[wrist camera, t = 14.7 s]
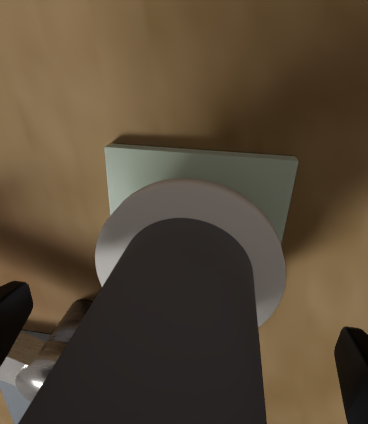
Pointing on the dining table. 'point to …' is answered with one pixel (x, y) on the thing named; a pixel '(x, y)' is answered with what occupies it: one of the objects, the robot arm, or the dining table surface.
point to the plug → (172, 314)
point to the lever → (40, 353)
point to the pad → (204, 174)
